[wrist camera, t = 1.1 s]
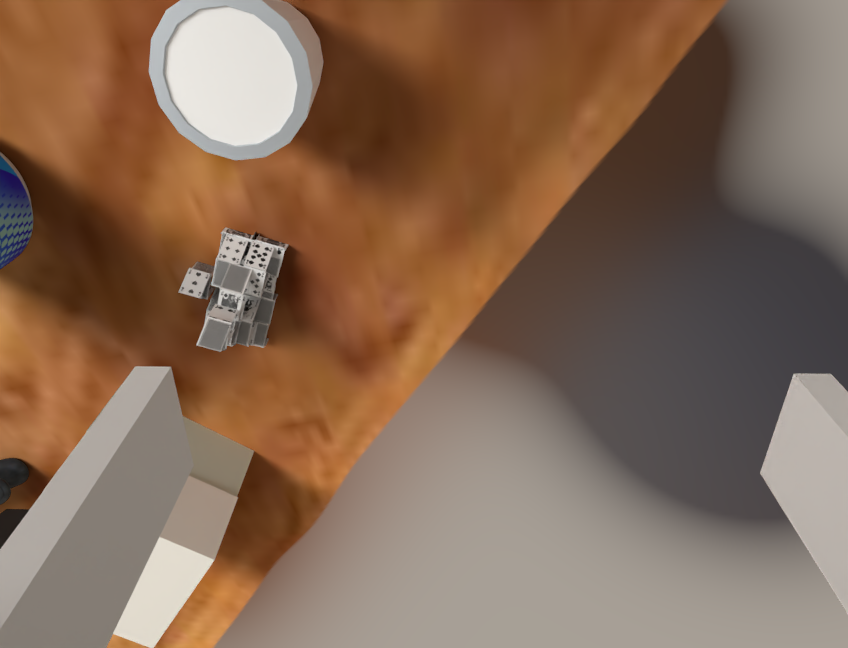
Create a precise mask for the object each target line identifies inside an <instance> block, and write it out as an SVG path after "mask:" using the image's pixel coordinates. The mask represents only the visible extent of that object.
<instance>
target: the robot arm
mask: <svg viewBox="0 0 848 648" xmlns="http://www.w3.org/2000/svg"><path fill="white" fill-rule="evenodd" d="M193 466H194V464H193V460H192V455H191V451H190V447H189V442H188V438H187V434H186V429H185V425H184V421H183V417H182V412H181V408H180V404H179V399H178V395H177V391H176V386H175V382H174V378H173V373H172V369H171V367H145V366H135V367H134V369H133V370H132V372H131V373H130V374H129V376H128V377H127V378H126V380H125V381H124V382H123V384H122V385H121V386H120V388H119V389H118V391H117V392H116V393H115V395H114V396H113V397H112V399H111V400H110V401H109V403H108V404H107V405H106V407H105V408H104V409H103V411H102V412H101V414H100V415H99V416H98V418H97V419H96V420H95V422H94V423H93V424H92V426H91V427H90V428H89V430H88V431H87V433H86V434H85V435H84V437H83V438H82V439H81V441H80V442H79V443H78V445H77V446H76V447H75V449H74V450H73V451H72V453H71V454H70V456H69V457H68V458H67V460H66V461H65V462H64V464H63V465H62V466H61V468H60V469H59V470H58V472H57V473H56V474H55V476H54V477H53V479H52V480H51V481H50V483H49V484H48V485H47V487H46V488H45V489H44V491H43V492H42V493H41V495H40V496H39V498H38V499H37V500H36V502H35V503H34V504H33V506H32V507H31V508H30V510H26V509H6V510H5V511H3V512H2V513H1V514H0V648H106V647H107V645H108V643H109V641H110V639H111V637H112V635H113V633H114V630H115V628H116V626H117V624H118V622H119V620H120V618H121V616H122V614H123V612H124V610H125V608H126V605H127V603H128V601H129V599H130V597H131V595H132V593H133V591H134V589H135V587H136V585H137V583H138V581H139V578H140V576H141V574H142V572H143V570H144V568H145V566H146V564H147V562H148V560H149V558H150V556H151V553H152V551H153V549H154V547H155V545H156V543H157V541H158V539H159V537H160V535H161V533H162V531H163V528H164V526H165V524H166V522H167V520H168V518H169V516H170V514H171V512H172V510H173V508H174V506H175V503H176V501H177V499H178V497H179V495H180V493H181V491H182V489H183V487H184V485H185V483H186V481H187V479H188V476H189V474H190V472H191V470H192V468H193ZM760 474H761V475H762V477H763V478H764V480H765V482H766V483H767V485H768V487H769V488H770V490H771V491H772V493H773V495H774V496H775V498H776V499H777V501H778V503H779V504H780V506H781V508H782V509H783V511H784V512H785V514H786V515H787V517H788V519H789V520H790V522H791V524H792V525H793V527H794V529H795V530H796V532H797V533H798V535H799V537H800V538H801V540H802V541H803V543H804V544H805V546H806V548H807V549H808V551H809V552H810V554H811V556H812V558H813V559H814V561H815V562H816V564H817V565H818V567H819V569H820V570H821V572H822V574H823V575H824V577H825V578H826V580H827V582H828V583H829V585H830V587H831V588H832V590H833V591H834V593H835V595H836V596H837V598H838V599H839V601H840V602H841V604H842V606H843V608H844V609H845V611H846V612H847V614H848V392H847V391H846V390H845V389H844V387H843V386H842V385H841V384H840V383H839V382H838V381H837V380H836V379H835V378H834V377H833V376H832V375H831V374H794V375H793V378H792V381H791V383H790V387H789V389H788V392H787V395H786V399H785V401H784V404H783V407H782V410H781V413H780V416H779V419H778V422H777V425H776V428H775V431H774V434H773V437H772V440H771V443H770V446H769V448H768V452H767V454H766V457H765V460H764V463H763V466H762V469H761V472H760Z"/></svg>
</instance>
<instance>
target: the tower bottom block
mask: <svg viewBox="0 0 848 648" xmlns="http://www.w3.org/2000/svg"><path fill="white" fill-rule="evenodd" d="M119 388H120V387H119ZM119 388H118V389H119ZM117 391H118V390H117ZM117 391H116V392H117ZM116 392H115V393H116ZM114 395H115V394H114ZM114 395H113V396H114ZM113 396H112V397H113ZM111 399H112V398H111ZM111 399H110V400H111ZM110 400H109V401H110ZM108 403H109V402H108ZM108 403H107V404H108ZM107 404H106V405H107ZM105 407H106V406H105ZM105 407H104V408H105ZM104 408H103V409H104ZM102 411H103V410H102ZM102 411H101V412H102ZM100 414H101V413H100ZM100 414H99V415H100ZM99 415H98V416H99ZM182 417H183V421H184V425H185V429H186V434H187V438H188V442H189V447H190V451H191V455H192V460H193V464H194V466H193V468H192V470H191V472H190V474H189V476H191V477H194V478H196V479H198V480H200V481H202V482H205V483H207V484H209V485H211V486H214V487H216V488H218V489H220V490H222V491H225V492H227V493H229V494H231V495H234V496H236V497H237V495H238V493H239V490H240V488H241V485H242V482H243V480H244V477H245V474H246V472H247V469H248V466H249V464H250V461H251V458H252V456H253V453H254V451H253V450H251V449H249V448H247V447H245V446H243V445H241V444H239V443H237V442H235V441H233V440H231V439H229V438H227V437H225V436H223V435H220V434H218V433H216V432H214V431H212V430H210V429H208V428H206V427H204V426H202V425H200V424H198V423H196V422H194V421H192V420H190V419H188V418H186V417H184V416H182ZM97 418H98V417H97ZM97 418H96V419H97ZM96 419H95V420H96ZM94 422H95V421H94ZM94 422H93V423H94ZM93 423H92V424H93ZM91 426H92V425H91ZM91 426H90V427H91ZM90 427H89V428H90ZM88 430H89V429H88ZM88 430H87V431H88Z"/></svg>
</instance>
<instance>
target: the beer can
mask: <svg viewBox="0 0 848 648" xmlns="http://www.w3.org/2000/svg"><path fill="white" fill-rule="evenodd" d="M32 230H33V211H32V205H31V198H30V194H29V191H28V188H27V186H26V184H25V182H24V180H23V178H22V176H21V175H20V173H19V171H18V170H17V169H16V167H15V166H14V165H13V164H12V163H11V161H10V160H9V159H8V158H7V157H6V156H4V155H3V154H2V153H1V152H0V269H1V268H3V267H4V266H6V265H7V264H8V263H10V262H11V261H13V260H14V259H15V258H16V257H18V256H19V255H20V254H21V253H22V252H23V250H24V249H25V247H26V246H27V244H28V242H29V240H30V237H31V234H32Z"/></svg>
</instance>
